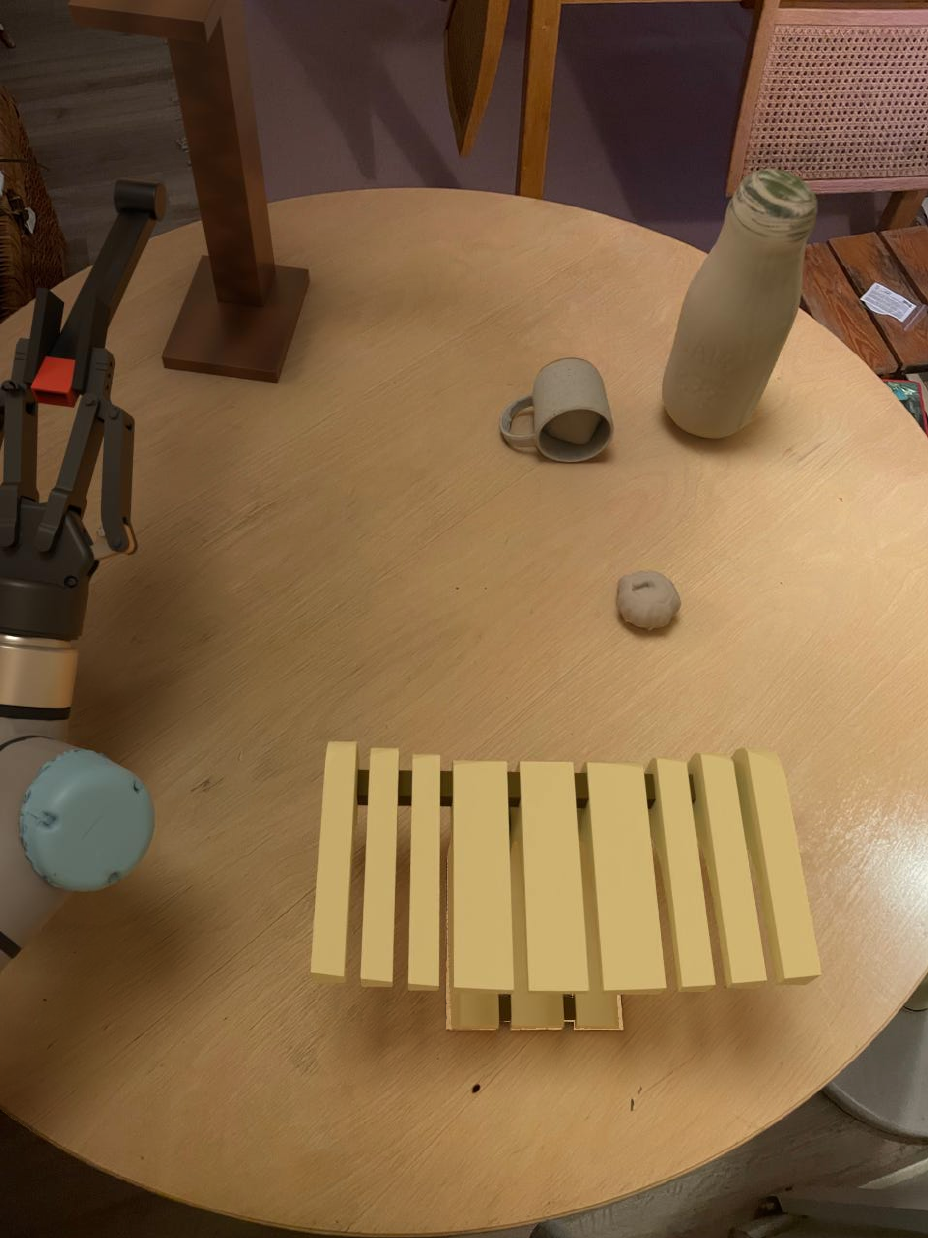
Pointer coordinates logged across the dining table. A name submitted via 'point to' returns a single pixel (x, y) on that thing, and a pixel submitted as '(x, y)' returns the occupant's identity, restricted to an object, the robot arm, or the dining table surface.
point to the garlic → (647, 599)
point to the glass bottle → (740, 306)
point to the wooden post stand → (218, 190)
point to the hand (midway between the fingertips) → (74, 298)
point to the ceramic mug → (564, 412)
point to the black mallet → (103, 282)
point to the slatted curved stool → (564, 880)
